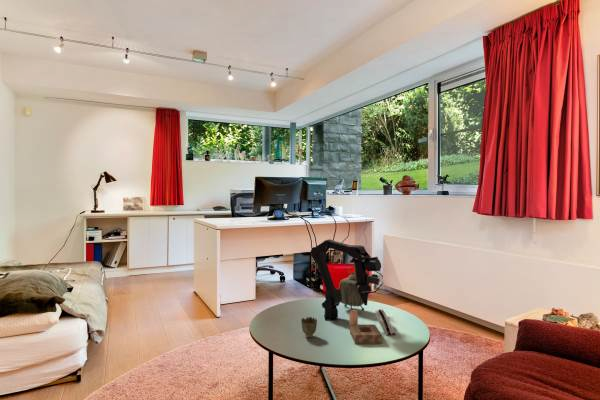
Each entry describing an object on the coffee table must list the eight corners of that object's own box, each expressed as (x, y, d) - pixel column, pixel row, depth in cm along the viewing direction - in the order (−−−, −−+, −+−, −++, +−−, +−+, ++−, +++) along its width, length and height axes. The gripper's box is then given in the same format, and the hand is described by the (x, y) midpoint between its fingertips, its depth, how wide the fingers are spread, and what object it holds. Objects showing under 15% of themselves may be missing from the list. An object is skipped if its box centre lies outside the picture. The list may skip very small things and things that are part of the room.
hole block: (355, 344, 152) (355, 335, 152) (350, 332, 164) (350, 324, 164) (381, 343, 153) (381, 334, 153) (374, 332, 165) (375, 324, 165)
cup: (305, 341, 154) (305, 323, 154) (298, 335, 161) (298, 318, 161) (320, 338, 158) (320, 321, 158) (312, 332, 164) (312, 315, 164)
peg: (350, 328, 169) (350, 312, 169) (348, 325, 173) (349, 309, 173) (358, 328, 169) (358, 312, 169) (356, 325, 173) (356, 309, 173)
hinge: (396, 335, 162) (389, 315, 162) (387, 338, 162) (380, 318, 162) (388, 322, 178) (382, 304, 178) (379, 324, 179) (373, 306, 178)
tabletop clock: (367, 310, 196) (367, 266, 195) (361, 315, 188) (361, 269, 187) (343, 305, 203) (344, 263, 203) (337, 310, 196) (337, 266, 195)
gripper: (379, 272, 161) (384, 305, 159) (374, 267, 179) (378, 297, 178) (355, 274, 162) (360, 308, 160) (353, 269, 180) (357, 299, 179)
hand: (364, 303), depth 169 cm, fingers open, 9 cm apart
